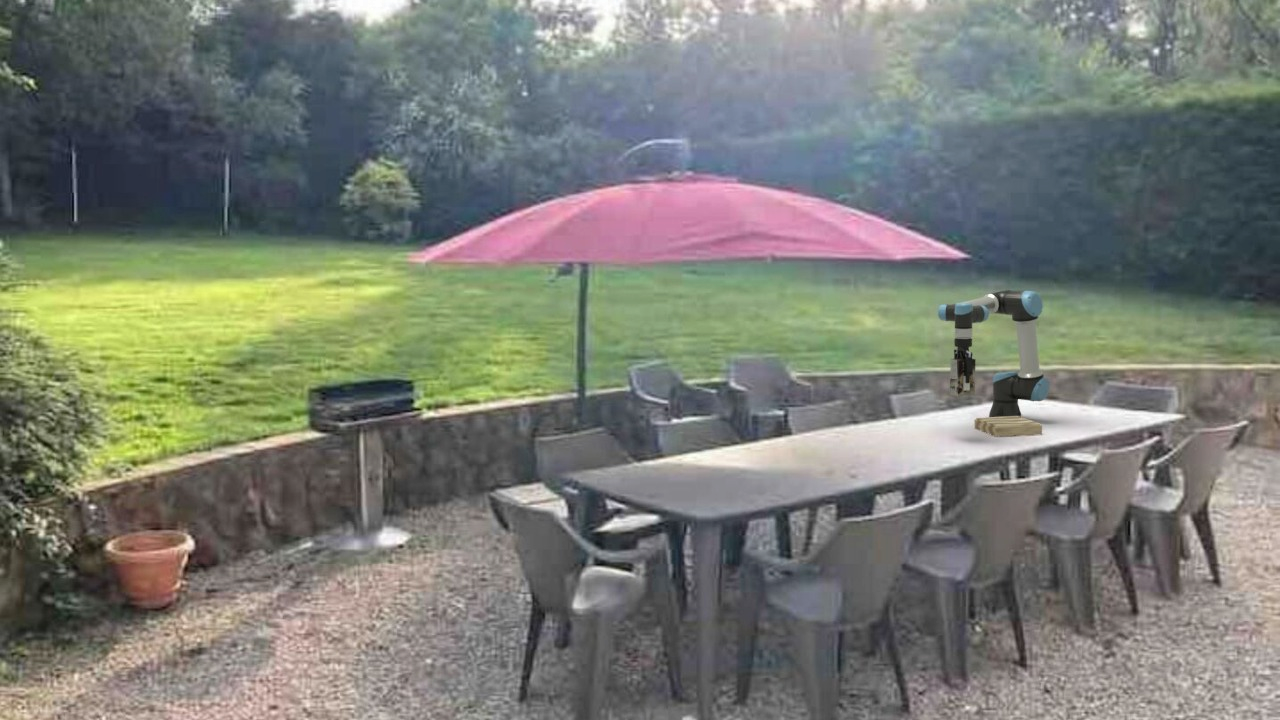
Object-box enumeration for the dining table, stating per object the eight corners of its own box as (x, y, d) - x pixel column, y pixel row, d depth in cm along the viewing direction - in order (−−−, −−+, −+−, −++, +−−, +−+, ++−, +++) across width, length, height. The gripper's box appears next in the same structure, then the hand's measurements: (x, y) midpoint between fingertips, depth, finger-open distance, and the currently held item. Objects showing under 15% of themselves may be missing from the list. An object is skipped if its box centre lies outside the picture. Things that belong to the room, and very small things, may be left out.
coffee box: (958, 396, 488) (958, 360, 486) (949, 394, 494) (949, 358, 492) (975, 395, 491) (976, 359, 489) (966, 393, 497) (967, 357, 495)
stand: (974, 428, 520) (974, 417, 519) (1018, 426, 523) (1018, 415, 523) (996, 437, 498) (996, 426, 498) (1041, 434, 502) (1042, 423, 501)
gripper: (945, 335, 499) (945, 386, 501) (965, 340, 479) (964, 392, 482) (961, 335, 500) (960, 385, 503) (981, 339, 480) (980, 391, 483)
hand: (962, 388), depth 492 cm, fingers closed on coffee box, 7 cm apart
